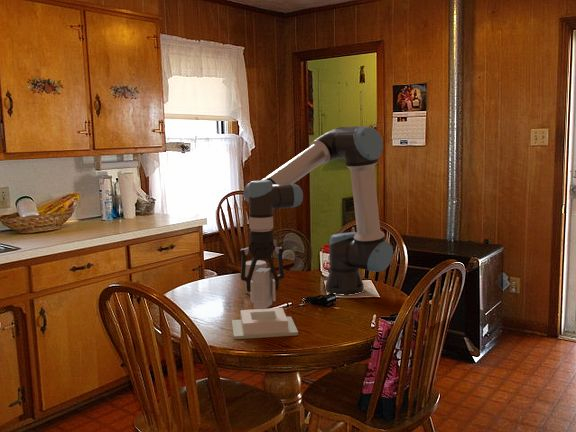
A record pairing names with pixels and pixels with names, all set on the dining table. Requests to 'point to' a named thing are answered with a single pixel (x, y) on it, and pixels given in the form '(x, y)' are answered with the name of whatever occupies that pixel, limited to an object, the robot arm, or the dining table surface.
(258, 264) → the coffee cup
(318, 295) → the dining table surface
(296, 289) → the dining table surface
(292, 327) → the holder
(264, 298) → the skincare box
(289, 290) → the dining table surface
